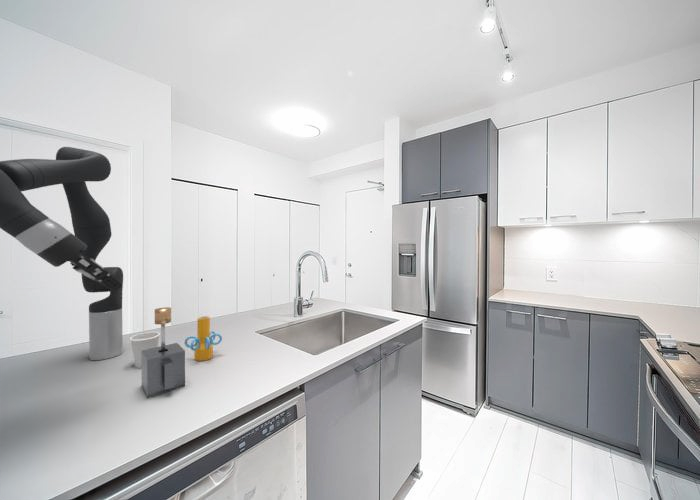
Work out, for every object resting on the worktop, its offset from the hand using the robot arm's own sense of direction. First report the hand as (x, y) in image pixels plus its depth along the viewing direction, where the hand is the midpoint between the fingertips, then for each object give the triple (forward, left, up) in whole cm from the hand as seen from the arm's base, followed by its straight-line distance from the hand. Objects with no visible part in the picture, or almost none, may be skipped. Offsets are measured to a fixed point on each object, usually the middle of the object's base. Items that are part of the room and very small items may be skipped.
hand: (115, 287), depth 71 cm
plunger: (0, +10, -23) cm, 25 cm away
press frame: (+2, +10, -30) cm, 32 cm away
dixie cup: (-22, +9, -31) cm, 39 cm away
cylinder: (-13, +25, -31) cm, 42 cm away
